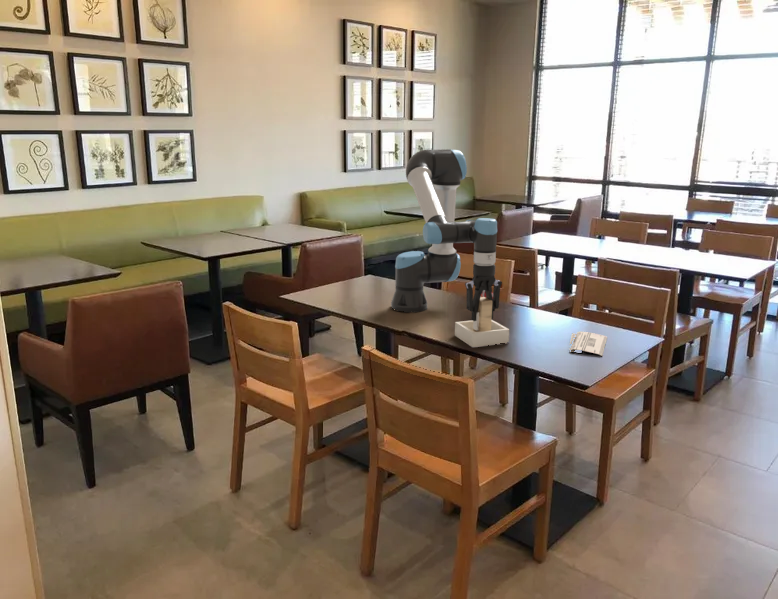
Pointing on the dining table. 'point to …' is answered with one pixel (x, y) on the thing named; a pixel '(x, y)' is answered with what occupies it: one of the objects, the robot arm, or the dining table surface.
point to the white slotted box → (481, 334)
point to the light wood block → (484, 314)
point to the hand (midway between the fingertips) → (481, 328)
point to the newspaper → (588, 342)
